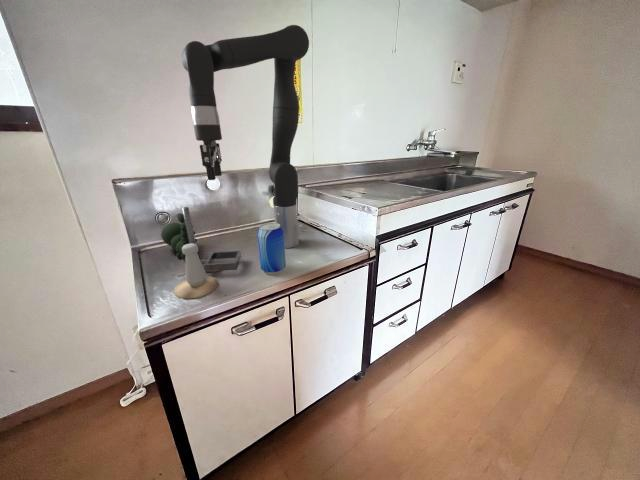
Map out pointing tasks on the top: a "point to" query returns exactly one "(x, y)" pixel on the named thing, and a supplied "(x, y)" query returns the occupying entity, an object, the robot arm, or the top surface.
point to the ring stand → (214, 255)
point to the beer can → (271, 248)
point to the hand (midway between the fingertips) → (215, 177)
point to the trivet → (195, 288)
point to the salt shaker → (193, 266)
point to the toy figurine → (176, 236)
